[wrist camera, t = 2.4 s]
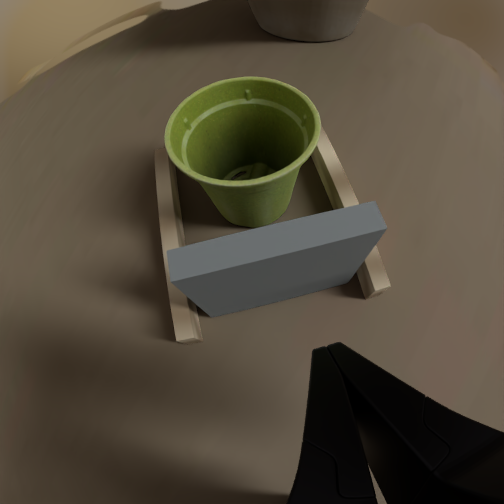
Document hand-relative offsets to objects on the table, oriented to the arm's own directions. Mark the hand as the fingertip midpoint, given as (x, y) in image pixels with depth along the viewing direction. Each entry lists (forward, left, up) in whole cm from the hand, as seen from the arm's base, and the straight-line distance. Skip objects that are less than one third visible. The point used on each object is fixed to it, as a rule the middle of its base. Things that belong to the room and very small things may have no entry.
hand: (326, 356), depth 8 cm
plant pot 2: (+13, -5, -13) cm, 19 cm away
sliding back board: (+6, -2, -12) cm, 14 cm away
